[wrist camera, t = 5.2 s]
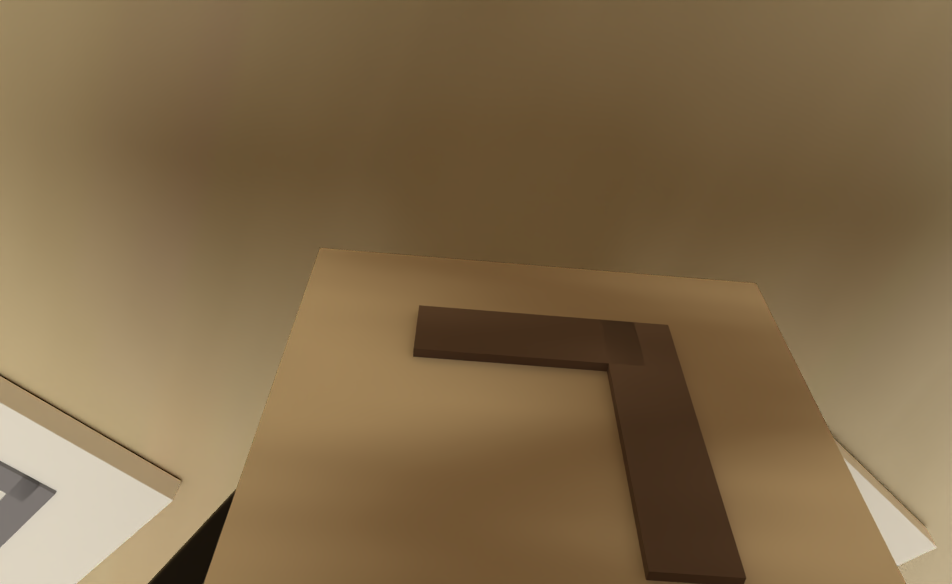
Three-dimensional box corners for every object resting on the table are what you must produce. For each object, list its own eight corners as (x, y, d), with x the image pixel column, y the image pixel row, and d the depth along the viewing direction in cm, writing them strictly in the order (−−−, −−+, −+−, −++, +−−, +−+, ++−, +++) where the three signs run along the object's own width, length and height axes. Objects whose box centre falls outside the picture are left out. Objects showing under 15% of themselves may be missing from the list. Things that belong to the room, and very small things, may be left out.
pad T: (926, 527, 20) (939, 550, 19) (696, 639, 23) (701, 662, 22) (767, 373, 17) (776, 395, 16) (528, 523, 20) (530, 546, 19)
